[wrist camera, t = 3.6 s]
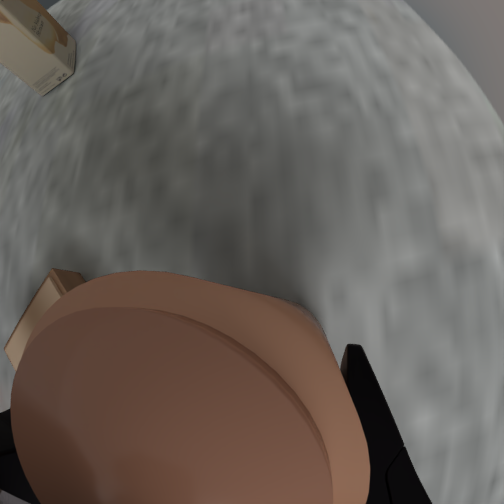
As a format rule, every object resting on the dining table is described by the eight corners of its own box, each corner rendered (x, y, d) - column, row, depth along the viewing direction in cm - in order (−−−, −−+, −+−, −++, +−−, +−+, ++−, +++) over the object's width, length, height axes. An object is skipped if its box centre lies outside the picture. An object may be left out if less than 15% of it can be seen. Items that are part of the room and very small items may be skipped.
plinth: (88, 434, 17) (61, 446, 15) (29, 346, 19) (0, 348, 16) (152, 368, 17) (124, 377, 14) (79, 272, 19) (49, 267, 16)
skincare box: (75, 74, 23) (-4, -1, 11) (42, 98, 24) (-40, 36, 12) (77, 39, 24) (13, -28, 13) (46, 61, 25) (-20, 2, 13)
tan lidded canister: (272, 425, 15) (174, 630, 2) (197, 351, 16) (-31, 413, 4) (351, 351, 15) (467, 494, 2) (271, 274, 16) (125, 167, 3)
